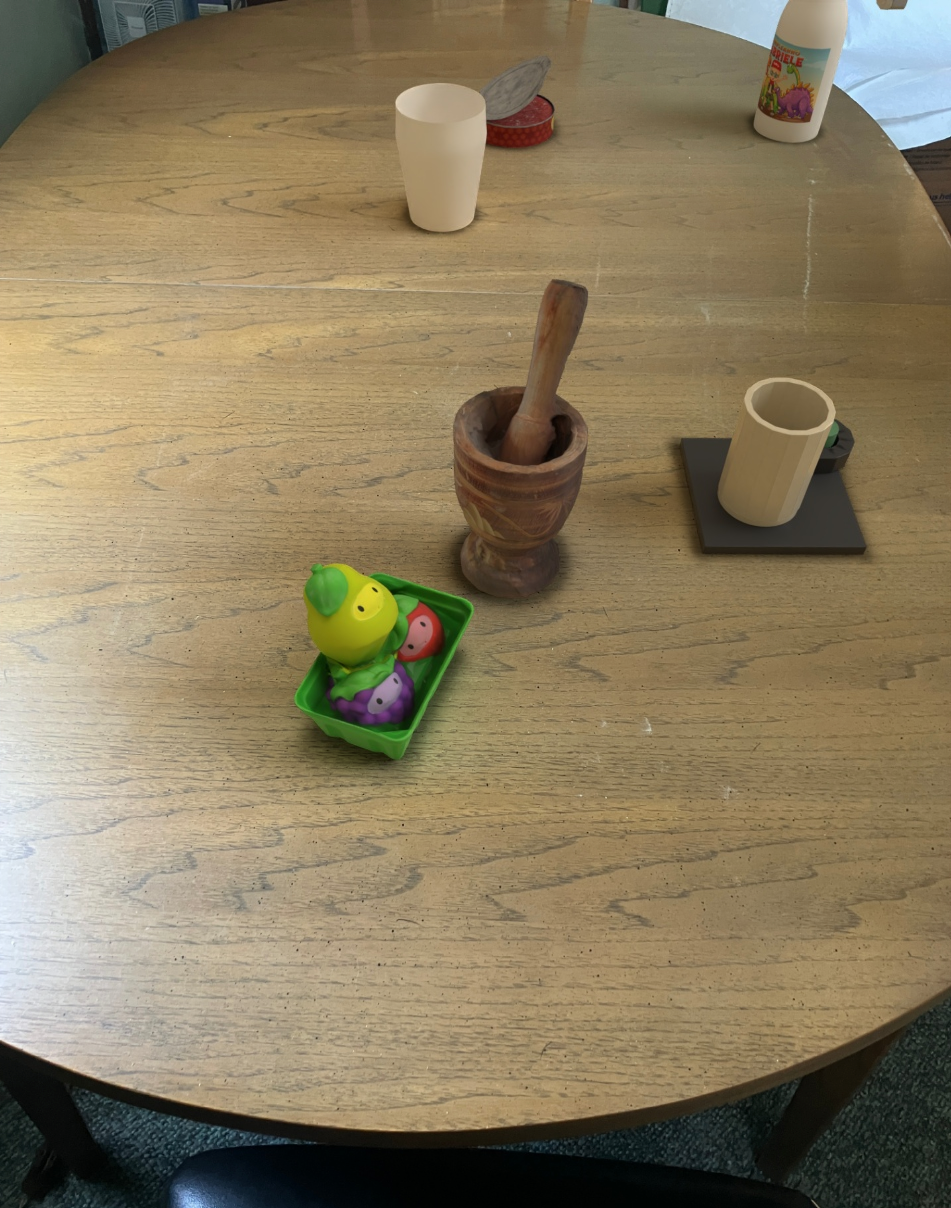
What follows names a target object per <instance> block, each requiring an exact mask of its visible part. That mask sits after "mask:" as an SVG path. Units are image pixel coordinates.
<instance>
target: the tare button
mask: <svg viewBox="0 0 951 1208" xmlns="http://www.w3.org/2000/svg"><path fill="white" fill-rule="evenodd" d="M838 431H839V426H838V424H837V423H836V422H835V421H834V422H833V424H832V427H831V430H830V432H829V435H828V437H827V440H826V442H825V445H824V447H823V448H829V447H831V446H832V445H833V444H834V441H835V439H836V436H837V434H838Z"/></svg>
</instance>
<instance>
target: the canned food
mask: <svg viewBox="0 0 951 1208" xmlns="http://www.w3.org/2000/svg"><path fill="white" fill-rule="evenodd" d="M551 67H552V61H551V59H550V58H549V56H548V55H537V56H535V57H532V58H530V59H525V60H523V61H521V62H520V63H518V64H517V65H514V66H512V67H509V68H507V69H506V70H505V71H503V72H502V73H500V74H498V75H497V76H495V77H493V78H492V79H491V80H490V81H489V82H488V83H487V84H485V85H484V86H483V87H482V88H480V90H479V91H478V93H479V94H481V95H482V96H483V98H484V99H485V105H486V129H487V136H486V144H489V145H492V146H496V147H500V148H510V149H511V148H512V149H513V148H515V149H518V148H527V147H533V146H536V145H540V144H542V143H544V142H546V141H547V140H549V138H550V137H551V136H552V135H553V133H554V132H553V131H554V125H555V113H556V108H555V105H554V103H553V101H551V100H550V99H549V98H548V97H546V96H545V95H542V94H540V93H539V92H540V91H541V89H542V88H543V86H544V83H545V79H546V77H547V76H548V73H549V71H550V70H551Z"/></svg>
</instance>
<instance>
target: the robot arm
mask: <svg viewBox="0 0 951 1208" xmlns="http://www.w3.org/2000/svg"><path fill="white" fill-rule="evenodd" d="M908 1H909V0H875V4H876V5H877V7H878V8H879V9H880V10H884V11H888V10H892V11H893V10H896V11H898V10H899V11H900V10H901V11H902V10H905V8H906V7H907V4H908Z"/></svg>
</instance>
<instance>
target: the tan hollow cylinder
mask: <svg viewBox="0 0 951 1208" xmlns="http://www.w3.org/2000/svg"><path fill="white" fill-rule="evenodd" d="M836 414H837V410H836V407H835V405H834V403H833V400H832V399H831V398H830V397H829V396H828V395H827V394H826V393H825V392H824V390H822V389H821V388H819V387H817V386H815V385H813V384H811V383H809V382H808V381H804V380H800V379H796V378H793V377H769V378H764V379H762V380H758V381H756V382H755V383H753V384H752V385H751V386H749V387H748V388H747V390H746V392H745V395H744V398H743V400H742V403H741V407H740V410H739V414H738V417H737V420H736V423H735V428H734V430H733V435H732V437H731V438H732V441H731V444H730V448H729V451H728V454H727V458H726V461H725V465H724V468H723V471H722V475H721V478H720V482H719V485H718V491H717V494H718V499H719V502H720V504H721V505H722V507H723V508H724V509H725V510H726V512H728V513H729V514H730V515H731V516H733V517H734V518H736V519H737V520H739V521H742V522H744V523H747V524H750V525H754V526H760V527H772V526H778V525H781V524H784V523H786V522H788V521H790V520H791V519H792V518H793V517H794V516H795V515H796V513H797V512H798V509H799V508H800V505H801V503H802V500H803V498H804V495H805V493H806V490H807V488H808V485H809V483H810V480H811V478H812V475H813V472H814V470H815V467H816V465H817V462H818V460H819V457H820V455H821V452H822V450H823V447H824V445H825V442H826V440H827V437H828V435H829V432H830V430H831V427H832V424H833V422H834V419H836Z"/></svg>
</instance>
